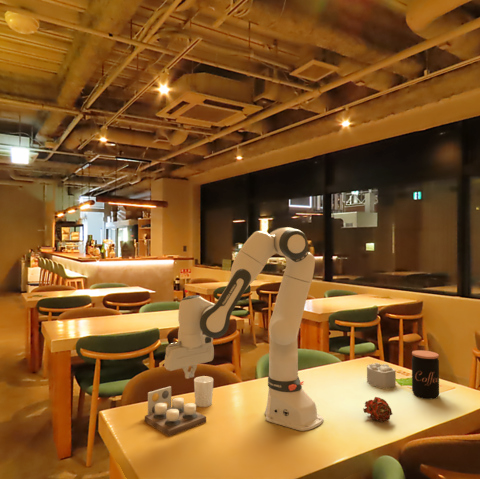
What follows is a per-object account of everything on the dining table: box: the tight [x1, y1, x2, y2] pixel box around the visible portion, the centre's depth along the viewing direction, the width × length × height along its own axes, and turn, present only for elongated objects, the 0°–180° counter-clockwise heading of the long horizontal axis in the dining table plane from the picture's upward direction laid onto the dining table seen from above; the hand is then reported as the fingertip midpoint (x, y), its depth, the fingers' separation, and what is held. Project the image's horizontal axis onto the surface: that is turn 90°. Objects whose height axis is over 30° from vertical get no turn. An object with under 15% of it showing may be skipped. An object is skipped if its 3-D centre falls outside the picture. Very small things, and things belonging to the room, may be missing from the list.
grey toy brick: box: [366, 362, 397, 389], centre depth 187 cm, size 10×13×9 cm
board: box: [144, 406, 207, 437], centre depth 145 cm, size 16×16×2 cm
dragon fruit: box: [362, 396, 393, 422], centre depth 147 cm, size 8×8×12 cm
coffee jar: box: [411, 349, 440, 400], centre depth 172 cm, size 11×11×18 cm
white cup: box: [193, 375, 214, 408], centre depth 162 cm, size 8×8×10 cm
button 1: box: [184, 402, 197, 415], centre depth 145 cm, size 4×4×2 cm
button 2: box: [166, 409, 179, 421], centre depth 139 cm, size 4×4×2 cm
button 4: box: [155, 403, 167, 415], centre depth 145 cm, size 4×4×2 cm
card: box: [147, 385, 172, 415], centre depth 152 cm, size 1×10×9 cm, turn 134°
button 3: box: [171, 397, 185, 409], centre depth 150 cm, size 4×4×2 cm
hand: (189, 377), depth 145 cm, fingers closed
